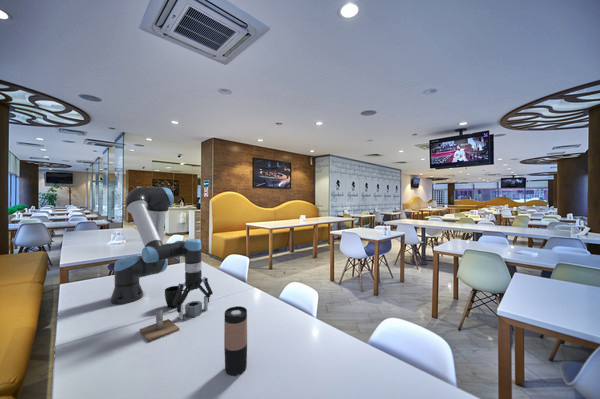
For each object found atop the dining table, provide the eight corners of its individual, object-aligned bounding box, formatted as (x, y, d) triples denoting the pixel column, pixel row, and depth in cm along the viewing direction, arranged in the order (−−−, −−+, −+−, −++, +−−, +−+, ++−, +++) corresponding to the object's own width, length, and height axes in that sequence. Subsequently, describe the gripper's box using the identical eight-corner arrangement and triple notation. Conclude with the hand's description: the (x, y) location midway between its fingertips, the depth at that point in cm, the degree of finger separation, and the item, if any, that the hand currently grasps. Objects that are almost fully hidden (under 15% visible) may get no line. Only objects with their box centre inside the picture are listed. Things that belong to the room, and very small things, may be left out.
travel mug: (226, 361, 89) (226, 306, 89) (248, 360, 90) (248, 305, 90) (222, 377, 82) (221, 317, 81) (245, 375, 82) (245, 316, 82)
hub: (183, 314, 124) (183, 304, 124) (197, 309, 130) (197, 299, 130) (189, 319, 120) (189, 308, 119) (204, 313, 125) (203, 303, 125)
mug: (183, 310, 128) (182, 292, 128) (161, 309, 130) (161, 291, 130) (191, 303, 137) (191, 286, 136) (171, 302, 138) (171, 285, 138)
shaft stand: (139, 331, 109) (139, 310, 109) (168, 320, 118) (168, 302, 118) (148, 342, 101) (148, 320, 101) (179, 330, 110) (179, 310, 110)
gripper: (170, 278, 113) (171, 325, 113) (219, 266, 131) (219, 307, 131) (164, 274, 118) (164, 320, 118) (212, 264, 136) (212, 303, 136)
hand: (193, 313), depth 125 cm, fingers open, 12 cm apart
